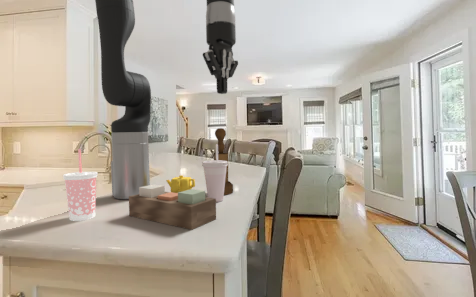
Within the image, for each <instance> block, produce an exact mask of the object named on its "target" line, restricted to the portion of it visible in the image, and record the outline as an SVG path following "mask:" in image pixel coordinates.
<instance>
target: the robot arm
mask: <svg viewBox="0 0 476 297" xmlns="http://www.w3.org/2000/svg"><path fill="white" fill-rule="evenodd" d="M94 1H95V2H94V3H95V9H96V15H97V16H96V17H97V23H98V31H99V32H98V33H99V40H100V41H99V44H100V56H101V57H100V60H101V62H100V63H101V65H100V66H101V67H100V69H101V70H100V71H101V73H100V75H101V89H102V93H103V94H102V95H103V97H104V99H105V100H106V102H107V103H108V104H110V105H111V106H117V107H125V109H124V114H123V115H122V116H121V117H120V118H118V119H116V120H114V121H112V122H111V124H110V129H111V151H112V152H111V154H112V155H111V156H112V160H111V162H110V169H111V170H110V171H111V195H112V196H113V197H114V199H117V200H118V199H119V200H129V196H133V195H137V194H139V187H143V186H148V185H151V179H150V176H151V175H150V149H149V147H150V146H149V124H150V123H151V113H152V112H151V111H152V110H151V108H152V107H151V106H152V92H151V91H152V90H151V84H150V82H149V81H150V80H148V79H147V77H146V76H145V75H143V74H141V73H137V72H132V71H128V70H127V69H126V65H125V47H126V44H127V42H128V41H129V39H130V37H131V35H132V33H133V31H134V29H135V25H136V16H135V6H134V0H94ZM205 14H206V15H205V26H206V27H205V31H206V32H205V33H206V44H207V46H208V50H207V51H205V52H203V53H202V57H203V60H204V62H205V65H206V66H207V69H208V71H209V73H210V75H211V76H214V78H215V80H216V92H217V94H221V95H225V94H227V93H228V79H229V78H233V75H234V74H235V71H236V69H237V68H238V65H239V62H238V60H235V59H234V58H233V56H234V52H233V47H234V46H235V44H236V42H237V41H236V40H237V38H236V37H237V36H236V35H237V33H236V12H235V0H206V12H205Z"/></svg>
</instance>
